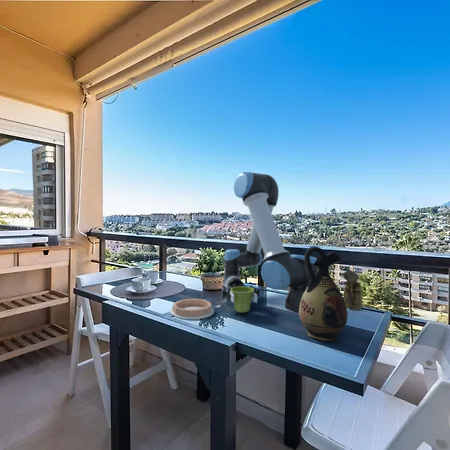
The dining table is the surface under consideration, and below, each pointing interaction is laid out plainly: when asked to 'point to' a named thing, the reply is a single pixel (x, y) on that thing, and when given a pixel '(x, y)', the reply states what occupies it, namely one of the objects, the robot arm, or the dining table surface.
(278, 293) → the dining table surface
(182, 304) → the ring collar
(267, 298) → the dining table surface
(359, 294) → the stone figurine
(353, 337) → the dining table surface
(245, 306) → the plant pot
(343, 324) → the ceramic jug
